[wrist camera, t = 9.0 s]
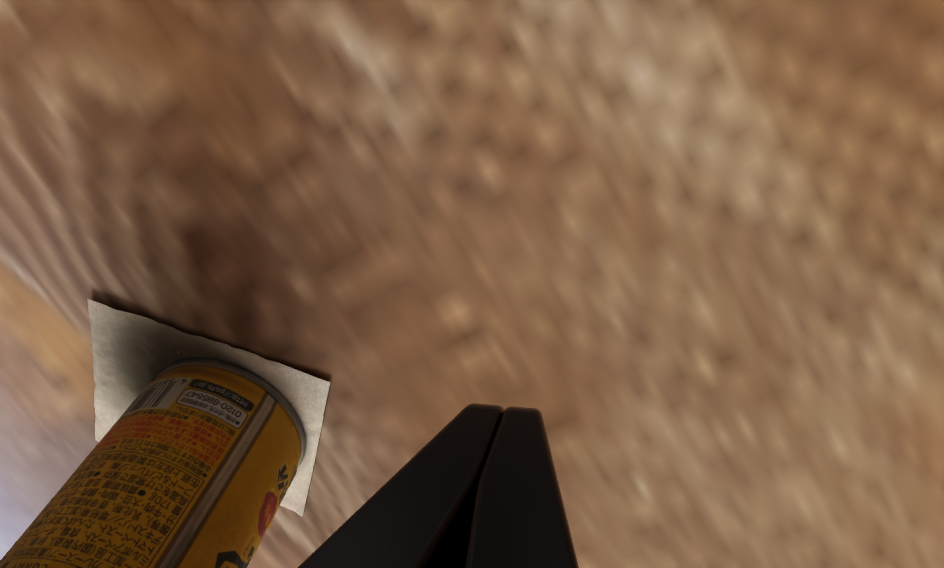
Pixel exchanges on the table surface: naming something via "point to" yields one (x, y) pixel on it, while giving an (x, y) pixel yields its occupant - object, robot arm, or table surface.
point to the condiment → (179, 454)
